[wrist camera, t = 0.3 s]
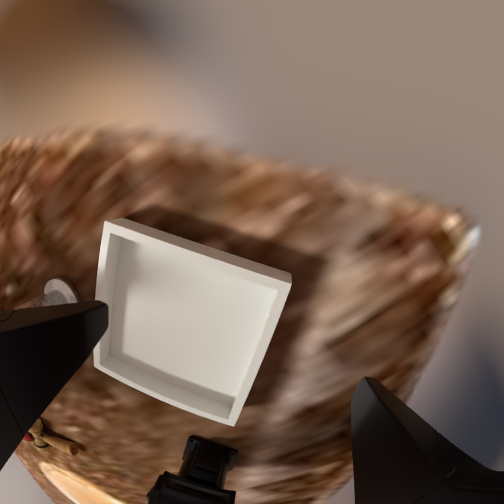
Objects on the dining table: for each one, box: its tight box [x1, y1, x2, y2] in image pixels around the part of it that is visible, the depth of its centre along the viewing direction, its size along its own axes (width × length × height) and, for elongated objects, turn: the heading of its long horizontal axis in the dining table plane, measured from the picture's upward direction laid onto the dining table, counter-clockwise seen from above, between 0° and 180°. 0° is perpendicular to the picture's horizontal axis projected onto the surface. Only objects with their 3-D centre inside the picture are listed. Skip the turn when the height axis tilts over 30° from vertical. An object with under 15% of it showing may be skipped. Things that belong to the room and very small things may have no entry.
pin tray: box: [94, 218, 292, 426], centre depth 23 cm, size 16×16×3 cm
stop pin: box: [14, 277, 81, 309], centre depth 20 cm, size 6×6×14 cm
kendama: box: [23, 419, 78, 456], centre depth 33 cm, size 8×6×18 cm
